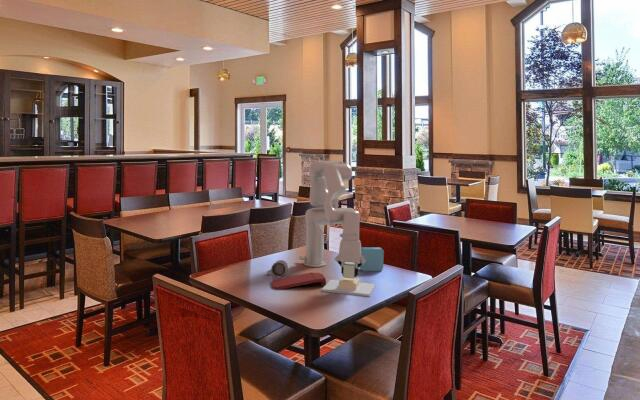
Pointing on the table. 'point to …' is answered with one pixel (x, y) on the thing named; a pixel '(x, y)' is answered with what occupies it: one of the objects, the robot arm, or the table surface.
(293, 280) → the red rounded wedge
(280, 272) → the ceramic mug
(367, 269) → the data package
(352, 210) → the robot arm
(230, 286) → the table surface
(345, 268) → the cream block
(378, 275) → the table surface
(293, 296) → the table surface
